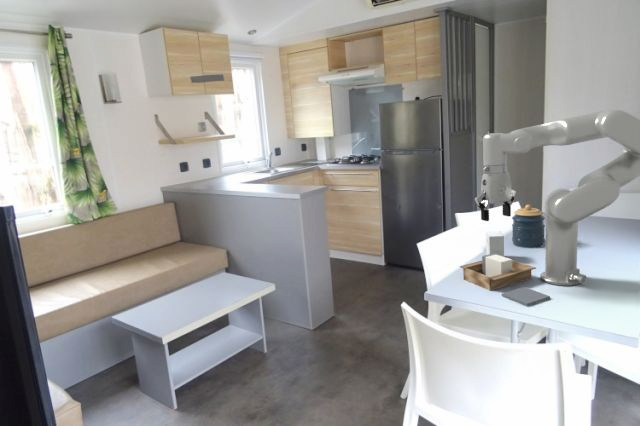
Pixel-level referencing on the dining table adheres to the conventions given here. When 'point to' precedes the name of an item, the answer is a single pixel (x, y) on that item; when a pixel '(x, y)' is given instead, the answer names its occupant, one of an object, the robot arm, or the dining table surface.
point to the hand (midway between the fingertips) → (495, 218)
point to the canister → (528, 227)
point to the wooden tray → (516, 275)
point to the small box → (495, 243)
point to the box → (495, 265)
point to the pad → (525, 296)
